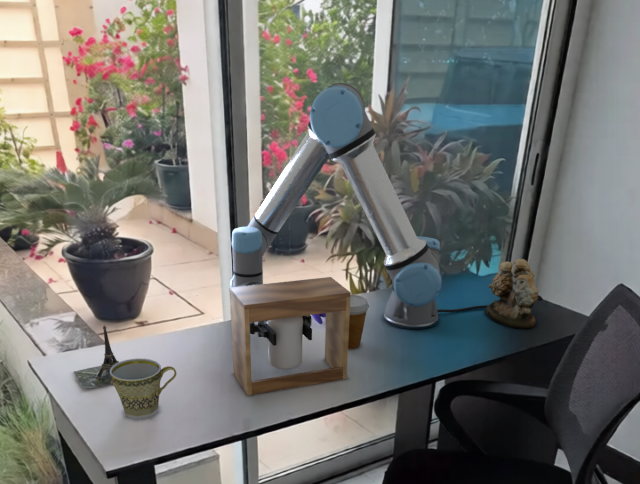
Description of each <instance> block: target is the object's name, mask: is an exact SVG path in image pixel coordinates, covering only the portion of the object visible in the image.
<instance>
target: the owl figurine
mask: <svg viewBox="0 0 640 484" xmlns="http://www.w3.org/2000/svg"><path fill="white" fill-rule="evenodd" d="M498 267H499V269H498V272H497V273H496V275H495V276H494V278H493V279H492V283H490V284H489V285H488V288H489V289H491V293H492V295H494V296H496V297H498V298H499V299H497V300H494V301H493V302H491V303H490V304H487V305H488V306H487V307H486V308H485V312H484V313H485V315H486V316H488V318H489V319H490V320H492V321H493V322H495V323H497V324H499V325H503V326H505V327H509V328H514V329H520V330H521V329H522V330H525V329H531V328H533V327H536V323H537V321H536V318H535V316H534V315H533V313H531V309H532V308H533V307H534V306H535V304H536V303H537V301H538V299H539V298H538V297H537V296H538V295H539V289H538V287H537V286H536V284H535V276H536V275H535V272H534V271H533V270H532V269H531V266H530V263H529V262H528V261H527V260H526V259H524V258H518V259H515V260H514V261H513V263H512V262H511V261H502V262H501V263H500V264H499V266H498Z"/></svg>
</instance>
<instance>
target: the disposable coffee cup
mask: <svg viewBox="0 0 640 484" xmlns="http://www.w3.org/2000/svg"><path fill="white" fill-rule="evenodd" d="M369 307H370V305H369V301H368V299H367V298H365V297H364V296H361V295H358V294H351V298H350V318H349V339H348V350H355V349H358V348H360V347H361V344H362V337H363V332H364V327H365V322H366V318H367V317H366V316H367V313H368V312H367V311H368V309H369Z"/></svg>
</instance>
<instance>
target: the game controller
mask: <svg viewBox="0 0 640 484" xmlns="http://www.w3.org/2000/svg"><path fill="white" fill-rule="evenodd" d="M322 318H324V319H325V320H326V313H322V314H314V315H311V319H314V320H315V322H316V323H318V324H319V325H323V319H322Z"/></svg>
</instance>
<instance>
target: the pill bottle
mask: <svg viewBox="0 0 640 484" xmlns="http://www.w3.org/2000/svg"><path fill="white" fill-rule="evenodd" d="M267 324H268V325H269V327H271V329H272V330H273V331H274V332H275V333H276V343H277V345H275V346H273V345H272V344H271V342H270V341H269V340H268V339H267V351H268V352H267V355H268V356H267V357H268V358H267V359H268V363H269V365H270V366H271V367H273V368H275V369H278V370H279V369H280V370H292V369H296V368H298V367H300V366H301V365H302V362H303V341H304V339H303V337H304V335H303V318H302V316H298V317H290V318H283V319H275V320H268V321H267Z"/></svg>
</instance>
